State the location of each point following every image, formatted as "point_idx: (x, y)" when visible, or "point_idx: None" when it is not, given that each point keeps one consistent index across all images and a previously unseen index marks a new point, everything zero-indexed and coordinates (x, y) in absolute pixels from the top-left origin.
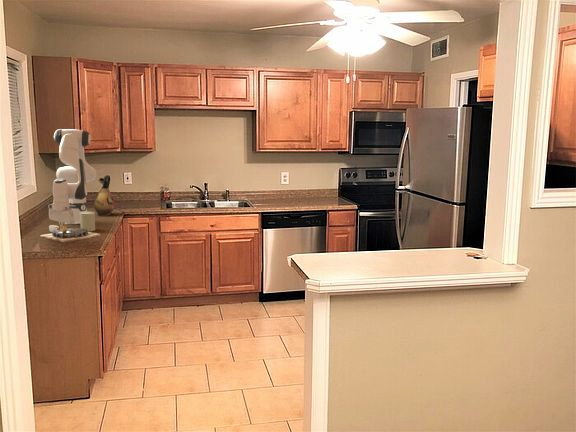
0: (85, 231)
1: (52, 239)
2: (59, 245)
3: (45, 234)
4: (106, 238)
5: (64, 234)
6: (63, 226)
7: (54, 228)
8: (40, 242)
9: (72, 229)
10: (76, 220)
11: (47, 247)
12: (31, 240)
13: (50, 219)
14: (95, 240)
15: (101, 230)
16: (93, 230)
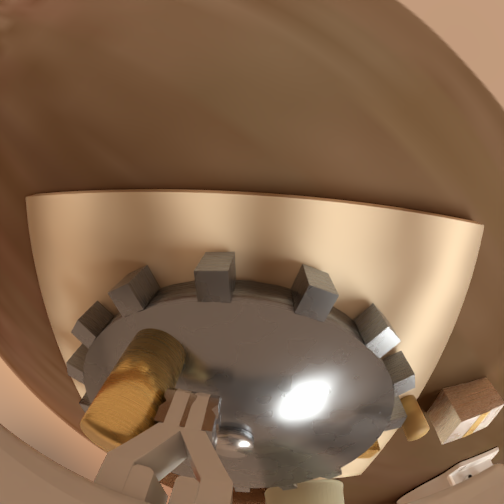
0: None
1: (238, 191)
2: (9, 103)
3: (460, 289)
4: (45, 404)
5: (121, 316)
6: (92, 405)
7: (458, 411)
8: (225, 17)
9: (278, 466)
10: (430, 493)
11: (36, 15)
12: (404, 43)
13: (496, 468)
14: (19, 353)
15: (239, 500)
16: (264, 494)
